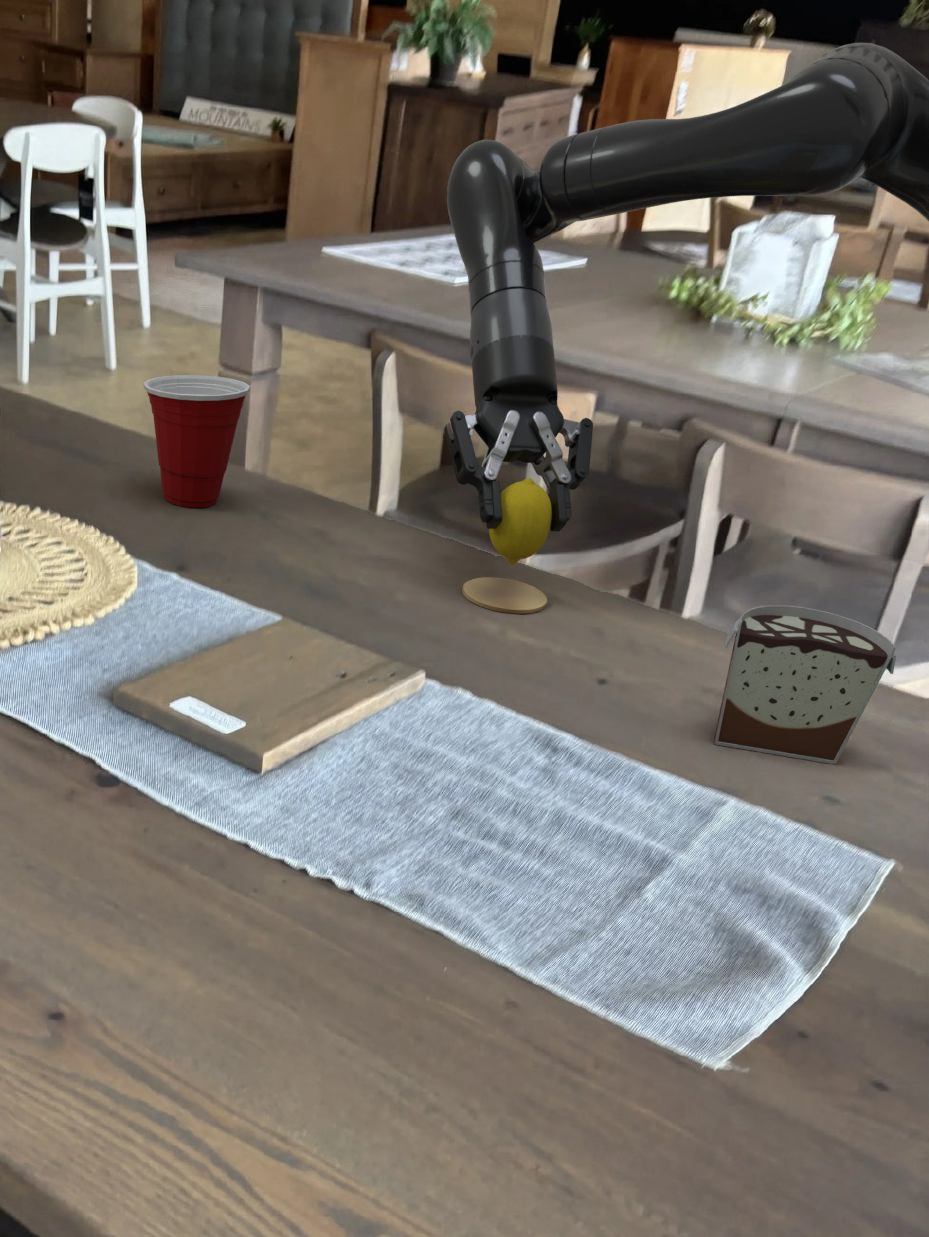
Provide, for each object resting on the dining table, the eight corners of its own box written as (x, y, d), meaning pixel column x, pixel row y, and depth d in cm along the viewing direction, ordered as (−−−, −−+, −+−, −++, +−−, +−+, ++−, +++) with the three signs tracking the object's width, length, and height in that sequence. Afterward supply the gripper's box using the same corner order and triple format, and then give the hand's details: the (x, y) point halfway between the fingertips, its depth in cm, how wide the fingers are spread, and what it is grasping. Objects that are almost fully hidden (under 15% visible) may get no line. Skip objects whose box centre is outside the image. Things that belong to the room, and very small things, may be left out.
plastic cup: (186, 476, 148) (194, 362, 141) (260, 503, 143) (272, 387, 136) (116, 493, 141) (121, 374, 134) (191, 523, 136) (200, 401, 129)
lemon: (475, 566, 124) (492, 480, 119) (490, 548, 128) (507, 464, 124) (533, 579, 122) (552, 493, 118) (546, 561, 127) (566, 477, 122)
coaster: (529, 582, 131) (530, 578, 131) (558, 615, 125) (559, 610, 124) (451, 579, 130) (452, 576, 129) (476, 612, 123) (477, 608, 123)
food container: (840, 733, 109) (886, 617, 103) (855, 767, 104) (903, 648, 98) (688, 708, 110) (724, 592, 105) (695, 741, 105) (733, 621, 100)
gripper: (451, 327, 119) (465, 505, 117) (602, 337, 122) (619, 511, 119) (425, 373, 126) (438, 542, 124) (568, 382, 129) (583, 547, 126)
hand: (527, 526), depth 121 cm, fingers closed on lemon, 5 cm apart
